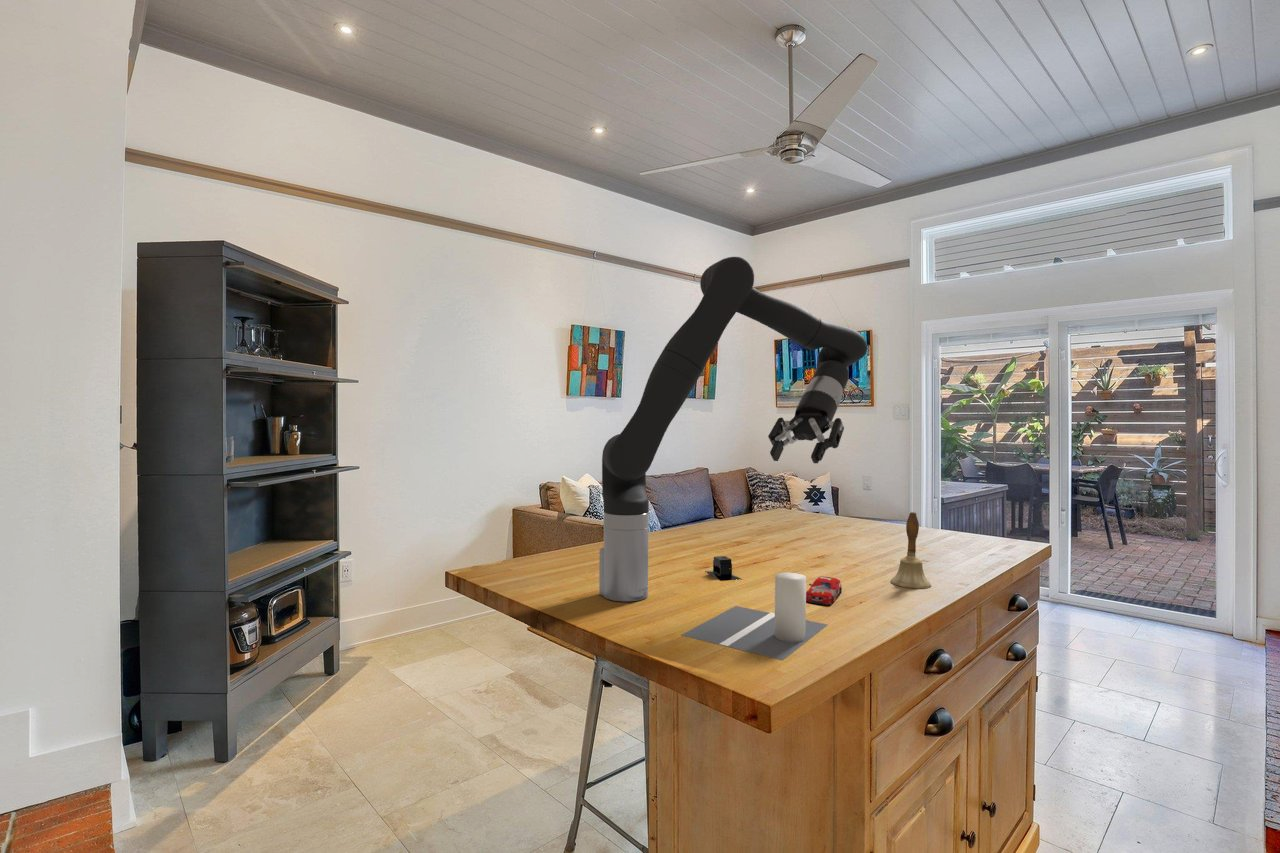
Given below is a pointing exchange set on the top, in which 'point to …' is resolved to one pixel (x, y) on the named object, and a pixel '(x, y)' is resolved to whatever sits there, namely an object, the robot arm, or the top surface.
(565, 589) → the top surface
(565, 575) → the top surface
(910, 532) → the hand bell
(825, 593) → the race car
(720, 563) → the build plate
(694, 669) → the top surface
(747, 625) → the gray striped mat
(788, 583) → the white cylinder
